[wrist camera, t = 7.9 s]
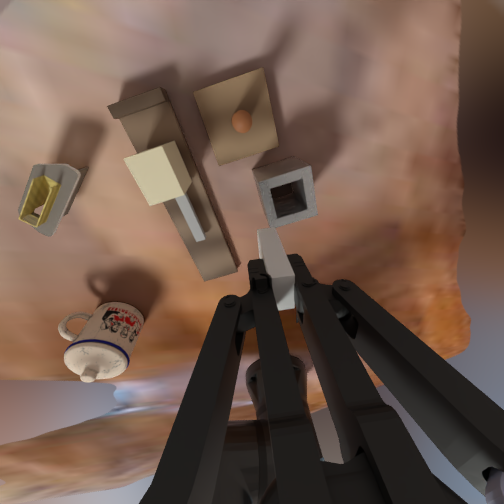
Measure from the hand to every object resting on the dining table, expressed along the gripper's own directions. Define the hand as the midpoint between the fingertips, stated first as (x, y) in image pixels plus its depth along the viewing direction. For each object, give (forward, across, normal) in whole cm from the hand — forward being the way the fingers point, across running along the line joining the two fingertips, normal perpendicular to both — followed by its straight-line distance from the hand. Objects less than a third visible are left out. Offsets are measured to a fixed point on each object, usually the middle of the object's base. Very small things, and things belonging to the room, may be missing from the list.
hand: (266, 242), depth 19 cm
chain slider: (+14, +9, -1) cm, 17 cm away
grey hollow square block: (+15, -4, -1) cm, 16 cm away
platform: (+16, +24, -4) cm, 29 cm away
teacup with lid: (+15, +28, +20) cm, 37 cm away
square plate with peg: (+15, +1, -9) cm, 18 cm away
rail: (+15, +9, +1) cm, 18 cm away
